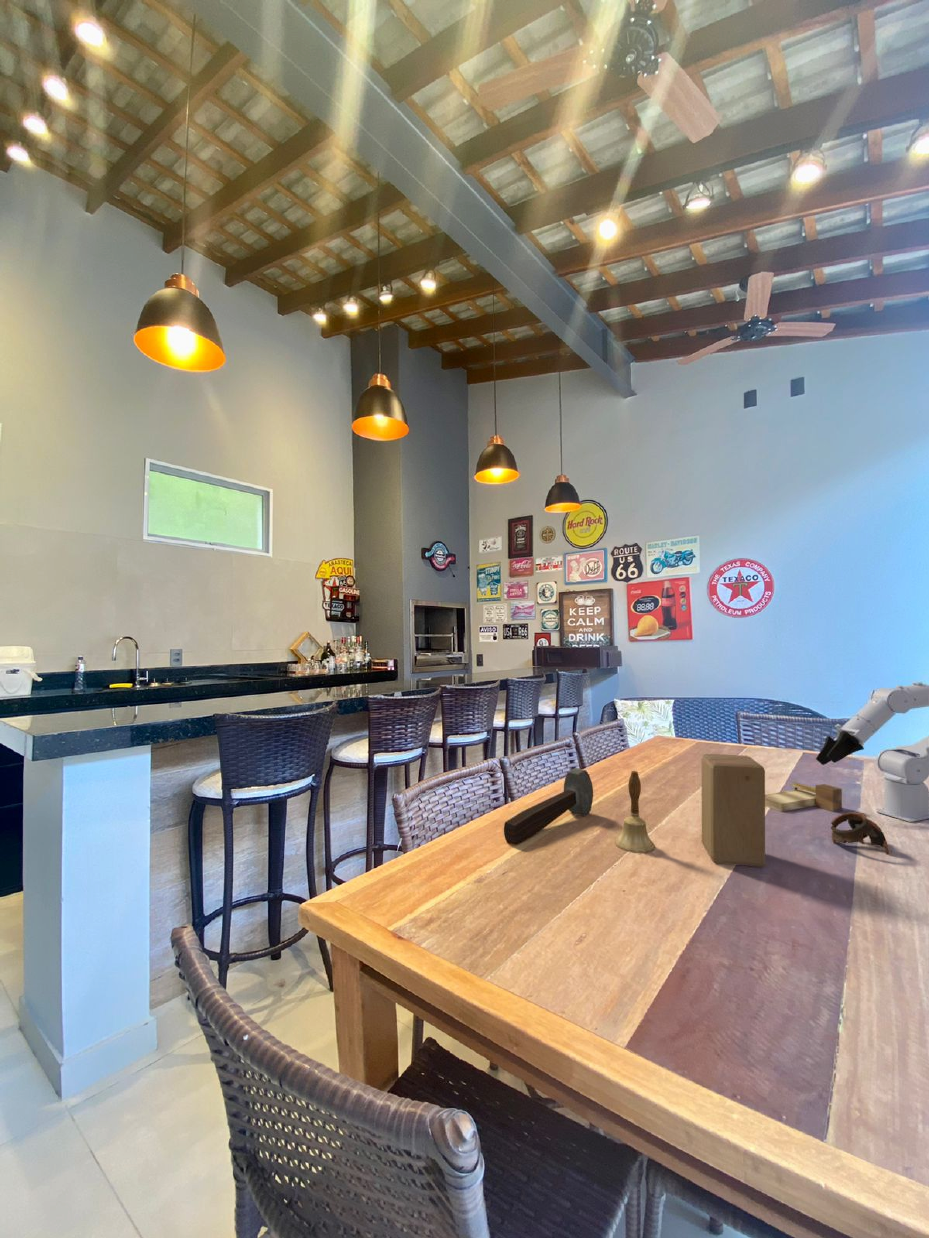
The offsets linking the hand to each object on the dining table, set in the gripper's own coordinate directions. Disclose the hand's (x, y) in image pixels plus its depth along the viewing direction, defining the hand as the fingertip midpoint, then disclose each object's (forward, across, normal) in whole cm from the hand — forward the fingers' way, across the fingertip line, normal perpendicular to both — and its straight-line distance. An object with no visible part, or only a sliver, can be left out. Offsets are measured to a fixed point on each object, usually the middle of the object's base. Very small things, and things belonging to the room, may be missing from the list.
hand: (825, 760), depth 135 cm
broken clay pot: (+13, +14, +14) cm, 24 cm away
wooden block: (+36, +26, -3) cm, 45 cm away
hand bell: (+50, +26, -16) cm, 58 cm away
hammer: (+62, +20, -31) cm, 72 cm away
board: (+11, -12, +4) cm, 17 cm away
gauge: (+6, -14, +8) cm, 17 cm away
